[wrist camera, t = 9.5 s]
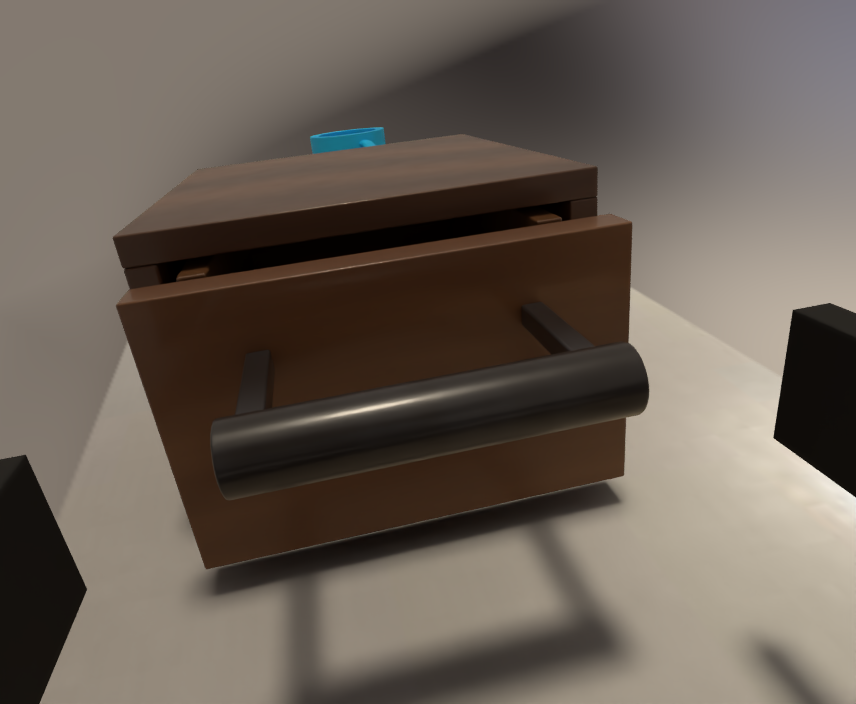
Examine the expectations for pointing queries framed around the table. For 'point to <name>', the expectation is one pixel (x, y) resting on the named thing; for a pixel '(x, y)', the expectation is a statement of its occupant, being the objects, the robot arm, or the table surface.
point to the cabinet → (345, 198)
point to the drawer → (389, 375)
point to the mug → (347, 139)
